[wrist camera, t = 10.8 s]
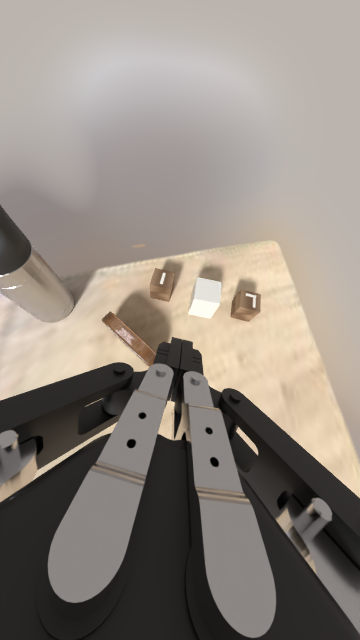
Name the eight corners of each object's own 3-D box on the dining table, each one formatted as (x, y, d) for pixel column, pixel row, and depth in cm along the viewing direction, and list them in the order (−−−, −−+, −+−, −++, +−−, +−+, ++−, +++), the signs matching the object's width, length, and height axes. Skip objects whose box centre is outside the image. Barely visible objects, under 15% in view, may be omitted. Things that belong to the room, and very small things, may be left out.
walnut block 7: (230, 317, 49) (240, 306, 44) (232, 300, 51) (241, 288, 46) (248, 321, 49) (260, 311, 44) (249, 305, 51) (261, 293, 46)
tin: (160, 361, 42) (161, 353, 35) (150, 372, 41) (149, 366, 33) (115, 320, 45) (107, 303, 37) (105, 328, 44) (94, 313, 36)
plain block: (187, 314, 48) (193, 298, 41) (190, 294, 50) (197, 277, 43) (210, 318, 48) (220, 304, 41) (212, 299, 51) (221, 282, 43)
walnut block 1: (150, 297, 49) (149, 284, 43) (155, 281, 51) (155, 266, 45) (168, 301, 49) (170, 289, 43) (173, 286, 51) (175, 271, 45)
